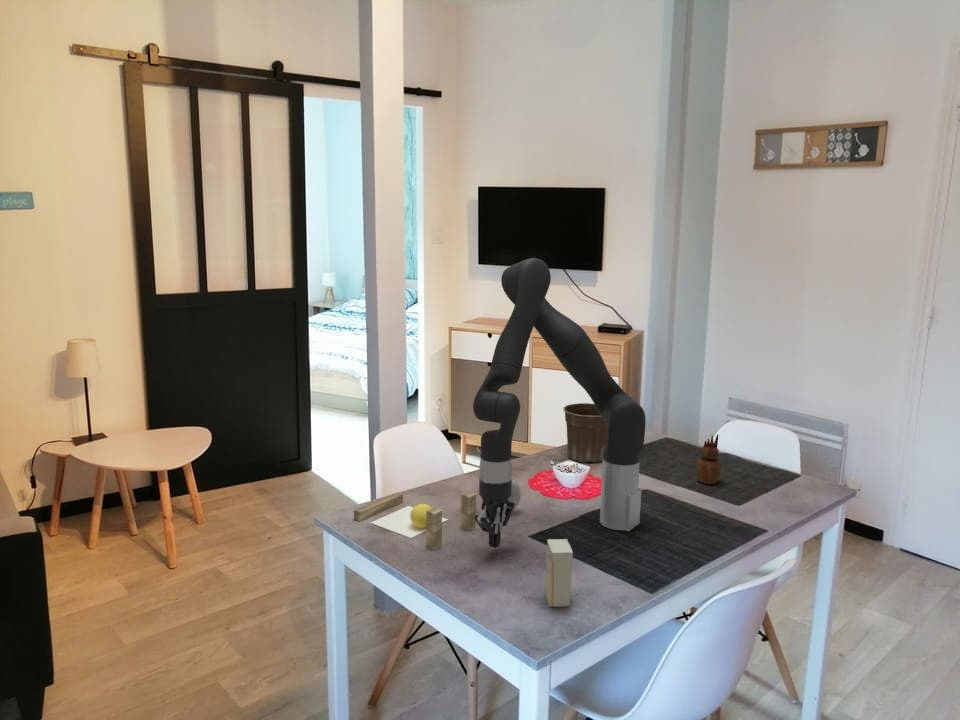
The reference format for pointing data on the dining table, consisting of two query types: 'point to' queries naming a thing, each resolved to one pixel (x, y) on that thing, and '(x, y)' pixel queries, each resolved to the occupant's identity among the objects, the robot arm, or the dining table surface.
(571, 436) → the plant pot
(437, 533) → the post left
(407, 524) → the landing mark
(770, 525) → the dining table surface
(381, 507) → the wall
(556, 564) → the skincare box
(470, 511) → the post right
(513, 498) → the donut
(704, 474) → the wooden figurine
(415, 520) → the ball
